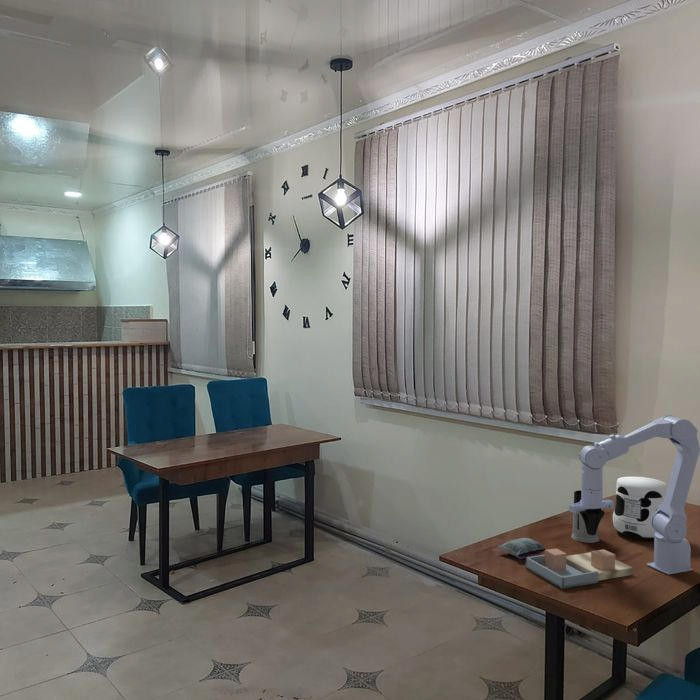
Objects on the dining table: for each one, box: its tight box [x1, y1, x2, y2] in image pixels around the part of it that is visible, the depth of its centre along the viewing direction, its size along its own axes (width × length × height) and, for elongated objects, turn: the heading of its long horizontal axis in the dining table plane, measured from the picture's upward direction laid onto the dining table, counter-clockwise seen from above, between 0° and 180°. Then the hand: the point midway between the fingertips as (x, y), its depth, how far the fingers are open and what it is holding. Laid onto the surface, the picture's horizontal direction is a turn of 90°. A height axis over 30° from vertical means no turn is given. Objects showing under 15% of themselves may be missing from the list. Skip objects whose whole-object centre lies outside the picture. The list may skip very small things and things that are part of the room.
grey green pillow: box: [497, 537, 546, 560], centre depth 198 cm, size 9×12×5 cm
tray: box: [525, 554, 599, 590], centre depth 182 cm, size 12×16×3 cm
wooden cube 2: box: [590, 548, 616, 571], centre depth 182 cm, size 4×4×4 cm
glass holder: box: [570, 490, 600, 544], centre depth 210 cm, size 9×14×15 cm, turn 149°
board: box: [566, 551, 634, 582], centre depth 186 cm, size 13×14×2 cm
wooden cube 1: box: [544, 548, 567, 571], centre depth 186 cm, size 4×4×4 cm
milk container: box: [612, 476, 668, 540], centre depth 216 cm, size 17×17×18 cm
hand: (591, 534), depth 187 cm, fingers closed
